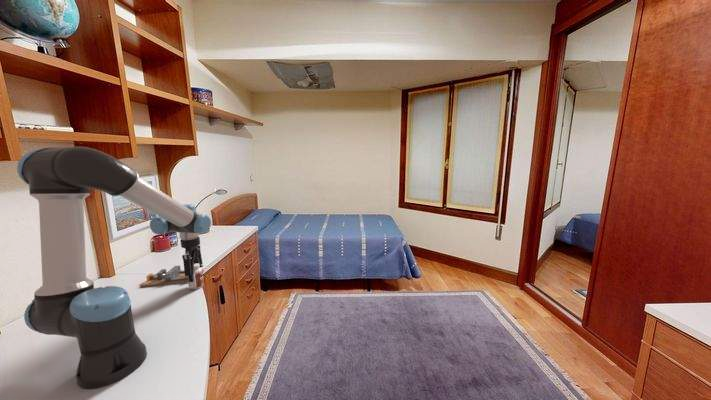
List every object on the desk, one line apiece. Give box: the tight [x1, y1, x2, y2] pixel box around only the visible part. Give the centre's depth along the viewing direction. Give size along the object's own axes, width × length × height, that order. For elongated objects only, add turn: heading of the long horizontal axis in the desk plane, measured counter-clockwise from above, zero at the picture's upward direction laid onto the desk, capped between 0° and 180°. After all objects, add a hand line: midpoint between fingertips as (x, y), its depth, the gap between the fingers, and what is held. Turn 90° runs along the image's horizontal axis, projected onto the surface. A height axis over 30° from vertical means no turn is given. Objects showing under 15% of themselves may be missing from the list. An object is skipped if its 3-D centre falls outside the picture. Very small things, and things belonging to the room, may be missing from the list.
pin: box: [146, 273, 165, 281], centre depth 131 cm, size 3×8×2 cm, turn 101°
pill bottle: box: [187, 263, 205, 290], centre depth 123 cm, size 6×6×11 cm
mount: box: [139, 264, 205, 288], centre depth 132 cm, size 13×24×5 cm, turn 101°
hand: (196, 283), depth 123 cm, fingers closed on pill bottle, 6 cm apart
